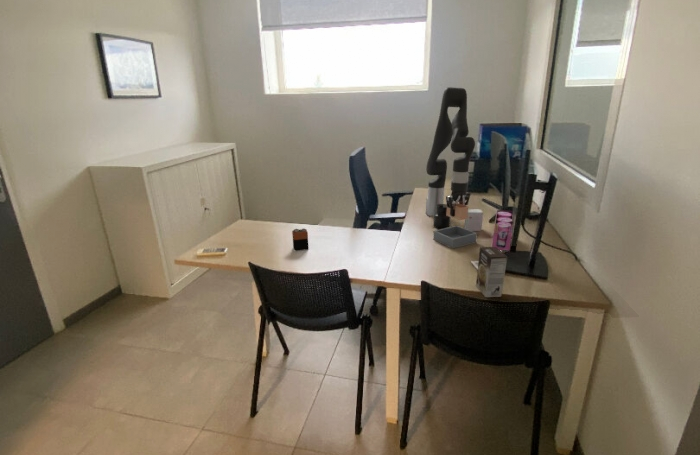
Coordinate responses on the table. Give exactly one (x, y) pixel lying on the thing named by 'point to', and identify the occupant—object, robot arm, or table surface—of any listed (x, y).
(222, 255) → the table surface
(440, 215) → the ink bottle
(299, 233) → the battery
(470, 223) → the small box
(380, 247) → the table surface
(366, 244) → the table surface
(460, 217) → the box
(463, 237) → the crate
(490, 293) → the coffee box
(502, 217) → the gum box
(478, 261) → the touchpad
